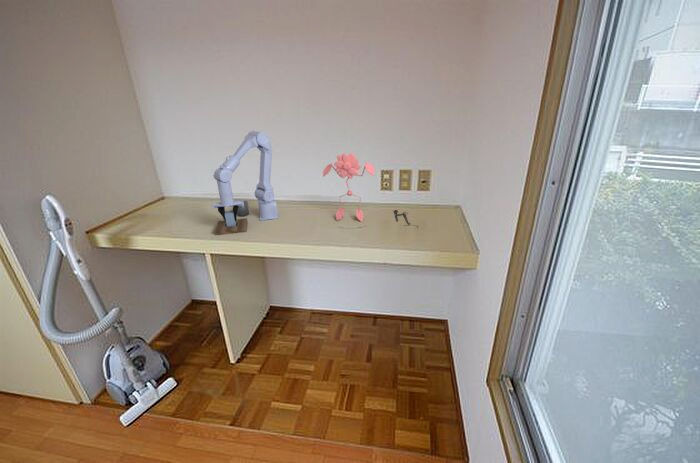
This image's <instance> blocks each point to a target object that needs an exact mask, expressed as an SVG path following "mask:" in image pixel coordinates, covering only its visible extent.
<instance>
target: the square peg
mask: <svg viewBox="0 0 700 463" xmlns="http://www.w3.org/2000/svg"><path fill="white" fill-rule="evenodd" d="M225 219H226V224H227V227H228V226H236V221H235V219H234V212H233V209H232V210H225Z"/></svg>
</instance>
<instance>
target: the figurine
mask: <svg viewBox="0 0 700 463" xmlns="http://www.w3.org/2000/svg"><path fill="white" fill-rule="evenodd" d="M336 159H337V160H338V161H335V162H334V164H332V163H329V164H327V165H326V166H325V168H324V169H323V172H322V177H325V176H327V175H328V174H329V173H330V172H331V170H332V168H333V170H334V171H335V173H336V174H337V175H338V176H339V177H340V178H342V179H345V178H346V177H347V179H346V180H345V181H346V182H345V184H346V186H347V189H348V190H347V192H346V194H343V195H340V196H339V199H341V198H342V197H345V196H346V195H347V196H349V197H351V196H353V197H358V199H359V202H361V199H362V198H361V196H358V195H355V194H353V191H352V190H350V187H349V183H348V181H349V179H353V178H354V177H356V176H357V177H363V176H364V174H365V170H366V172H367V173H368V174H370V175H372V176H375V175H376V173H375V167H374V166H373V164H371V163H370V162H368V161H365V163H364V168H363V170H362V172H361V174H359V172H358V171H359V170H360V169H361V168H362V166H361V164H360V163H359V159H358V158H356V157H355V154H354V152H350V153H349V155H348V154H347V153H345V152H344V153H342V155H341V154H340V155H337V156H336ZM333 165H334V166H333ZM335 167H336V168H335ZM353 176H354V177H353ZM341 203H342V201H341V200H339V205H340V208H339V209H337V211H336V213H335V219H336V221H337V222H338V221H339V220H341V219H342V218H344V214H345V209H344V208H342V204H341ZM360 208H361V203H359V205H358V209H356V212H355V215H356V218H357V219H358V220H359V221H360V222H363V219H364V213H363V211H362V209H360ZM331 217H333V215H331ZM365 226H366V227H367V225H365ZM365 226H362V228H363V227H365ZM339 228H341V229H343V227H341V226H339ZM360 228H361V226H359V227H358V229H360Z"/></svg>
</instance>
